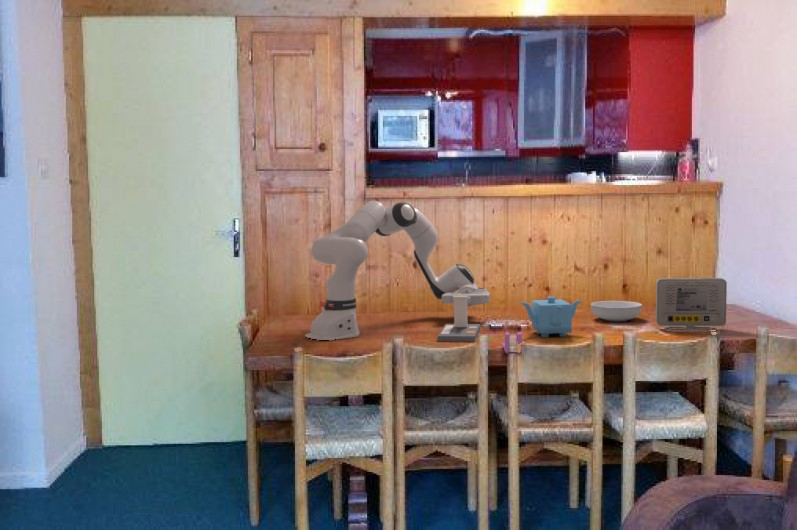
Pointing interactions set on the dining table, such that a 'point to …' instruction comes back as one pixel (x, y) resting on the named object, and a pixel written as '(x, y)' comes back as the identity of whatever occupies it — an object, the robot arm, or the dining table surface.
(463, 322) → the switch tab
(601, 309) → the serving bowl
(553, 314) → the teakettle
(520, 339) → the bracket
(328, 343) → the dining table surface
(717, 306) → the network device
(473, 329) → the switch panel
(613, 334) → the dining table surface
